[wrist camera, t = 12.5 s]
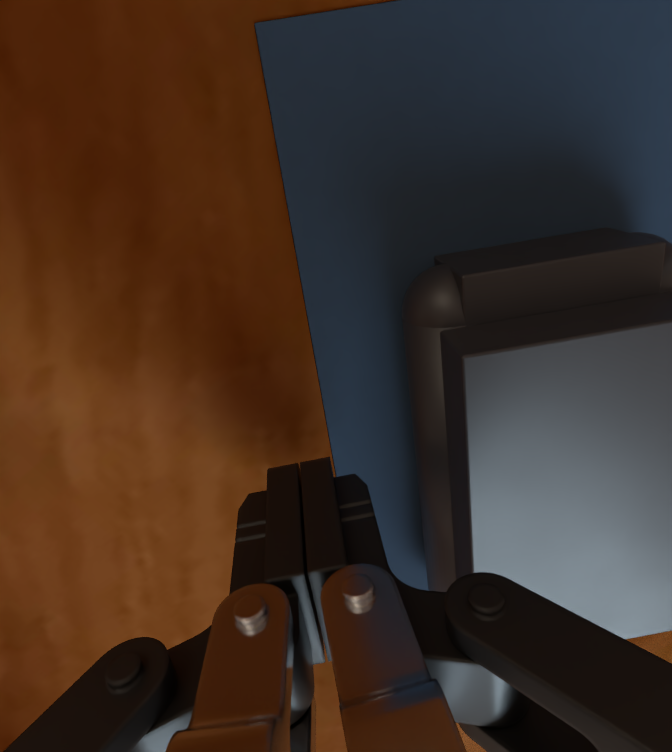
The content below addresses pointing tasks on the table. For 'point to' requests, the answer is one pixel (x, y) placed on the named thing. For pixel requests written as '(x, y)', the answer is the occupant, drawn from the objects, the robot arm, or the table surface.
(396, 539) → the pad
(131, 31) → the table surface
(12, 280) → the table surface
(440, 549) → the dark grey plastic block
